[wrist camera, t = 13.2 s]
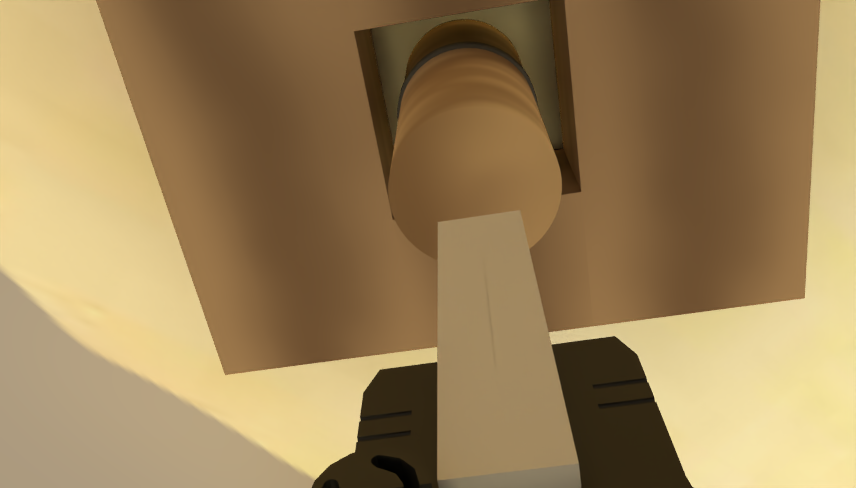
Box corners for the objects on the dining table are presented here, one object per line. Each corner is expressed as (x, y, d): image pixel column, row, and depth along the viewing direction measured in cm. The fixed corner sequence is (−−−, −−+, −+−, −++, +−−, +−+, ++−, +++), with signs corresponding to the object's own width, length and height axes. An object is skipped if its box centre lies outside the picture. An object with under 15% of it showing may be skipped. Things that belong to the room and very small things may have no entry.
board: (771, -245, 23) (833, -264, 19) (760, 244, 30) (804, 298, 26) (113, -119, 24) (56, -114, 21) (249, 315, 31) (225, 374, 28)
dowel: (517, 7, 26) (557, 89, 17) (530, 126, 28) (572, 258, 19) (393, 27, 26) (368, 118, 17) (414, 144, 28) (401, 281, 19)
